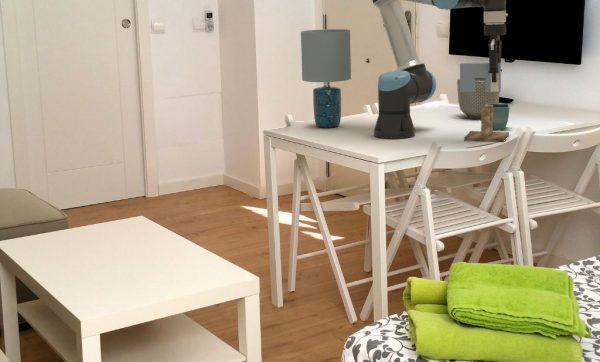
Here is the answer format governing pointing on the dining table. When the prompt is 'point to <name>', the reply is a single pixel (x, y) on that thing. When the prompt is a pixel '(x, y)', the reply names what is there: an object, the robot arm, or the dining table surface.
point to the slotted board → (476, 76)
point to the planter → (476, 99)
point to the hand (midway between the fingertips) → (495, 90)
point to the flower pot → (500, 116)
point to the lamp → (326, 70)
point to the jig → (486, 128)
